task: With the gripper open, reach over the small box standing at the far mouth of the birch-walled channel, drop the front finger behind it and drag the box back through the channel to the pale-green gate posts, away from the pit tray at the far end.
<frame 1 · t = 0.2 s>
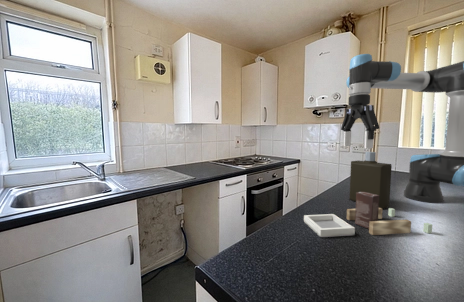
hand: (357, 147, 85), 28 cm above the counter, fingers open, 13 cm apart
pit tray: (327, 227, 73), on the counter
bottle: (367, 203, 99), on the counter
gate: (407, 223, 77), on the counter
channel: (376, 225, 75), on the counter
box: (365, 226, 75), on the counter
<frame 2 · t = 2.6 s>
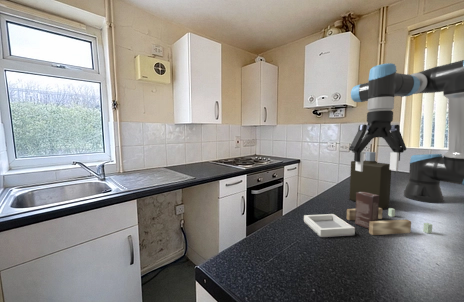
hand: (376, 170, 73), 20 cm above the counter, fingers open, 13 cm apart
nothing on the counter moved.
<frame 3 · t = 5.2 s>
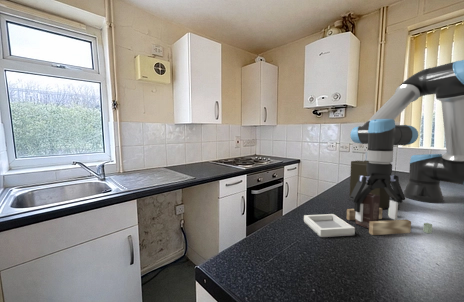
hand: (375, 219, 75), 2 cm above the counter, fingers open, 13 cm apart
box: (366, 226, 75), on the counter, touching gripper
everything else where it was.
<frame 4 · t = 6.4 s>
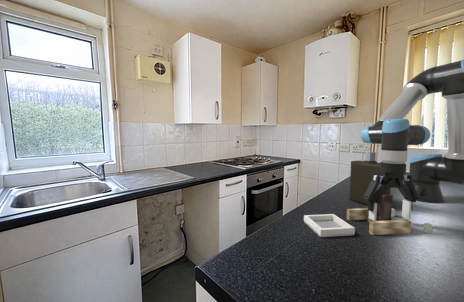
hand: (389, 218, 76), 2 cm above the counter, fingers open, 13 cm apart
box: (378, 225, 76), on the counter, touching gripper
everything else where it was.
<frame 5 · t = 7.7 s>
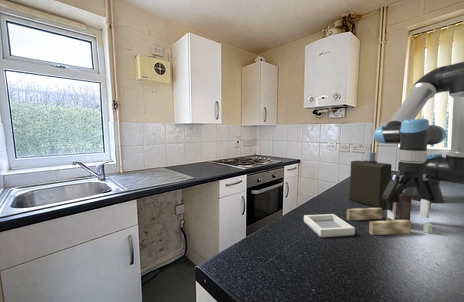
hand: (407, 217, 76), 2 cm above the counter, fingers open, 13 cm apart
box: (397, 224, 76), on the counter, touching gripper
everything else where it was.
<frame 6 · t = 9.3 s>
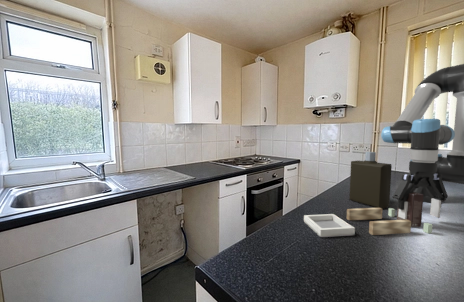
hand: (418, 217, 77), 2 cm above the counter, fingers open, 13 cm apart
box: (408, 224, 77), on the counter, touching gripper
everything else where it was.
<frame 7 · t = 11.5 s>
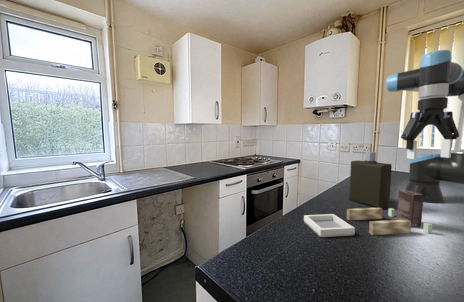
hand: (428, 158, 74), 25 cm above the counter, fingers open, 13 cm apart
box: (408, 224, 77), on the counter
everything else where it was.
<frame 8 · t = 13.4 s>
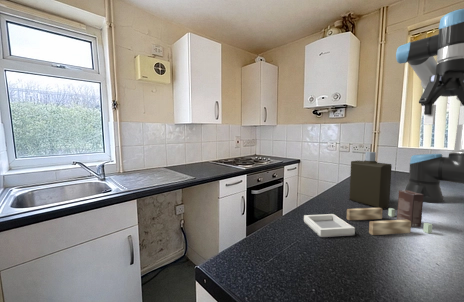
hand: (446, 124, 70), 37 cm above the counter, fingers open, 13 cm apart
nothing on the counter moved.
at the end: box inside the target area (0.7 cm from its centre), on the counter; box tilted 0°; box moved 17.2 cm from its start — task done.
